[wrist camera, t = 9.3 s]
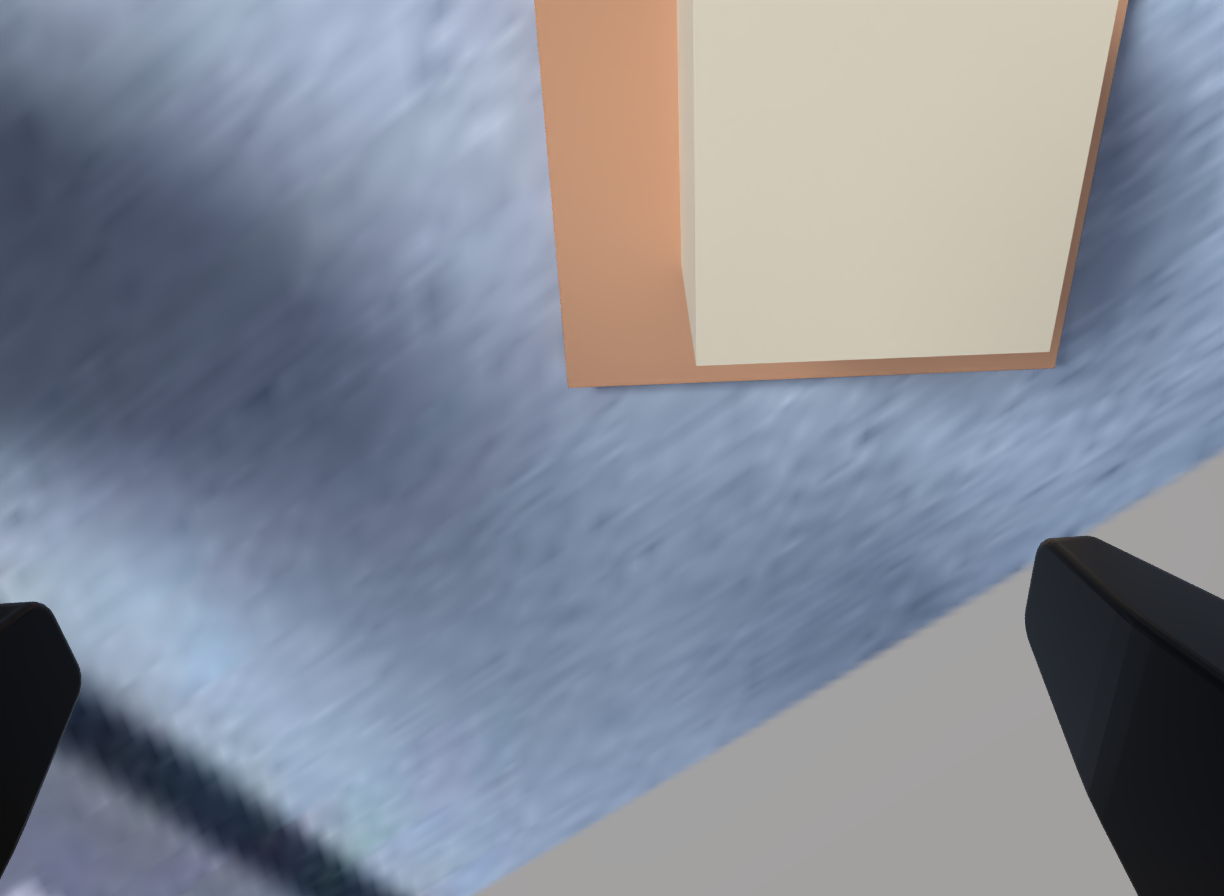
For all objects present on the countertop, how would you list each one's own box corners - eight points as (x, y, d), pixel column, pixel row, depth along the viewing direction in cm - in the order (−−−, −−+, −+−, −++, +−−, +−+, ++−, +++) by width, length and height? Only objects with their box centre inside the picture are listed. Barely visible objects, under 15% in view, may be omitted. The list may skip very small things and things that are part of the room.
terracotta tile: (570, 372, 19) (568, 387, 18) (522, -189, 14) (517, -198, 14) (1038, 353, 19) (1054, 368, 18) (1150, -235, 14) (1177, -246, 13)
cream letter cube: (681, 265, 17) (696, 365, 13) (676, -26, 15) (692, -27, 10) (947, 253, 17) (1057, 351, 12) (986, -46, 14) (1139, -54, 10)
